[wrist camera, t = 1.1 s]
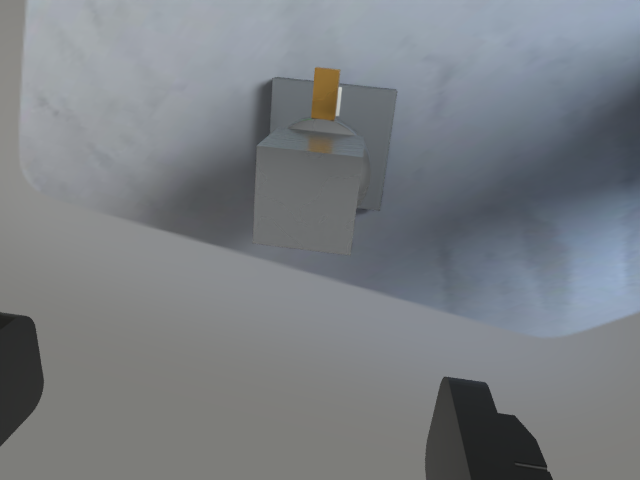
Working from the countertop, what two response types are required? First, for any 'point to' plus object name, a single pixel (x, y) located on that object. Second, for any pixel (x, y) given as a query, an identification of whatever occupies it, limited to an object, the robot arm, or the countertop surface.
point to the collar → (311, 177)
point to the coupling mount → (344, 120)
